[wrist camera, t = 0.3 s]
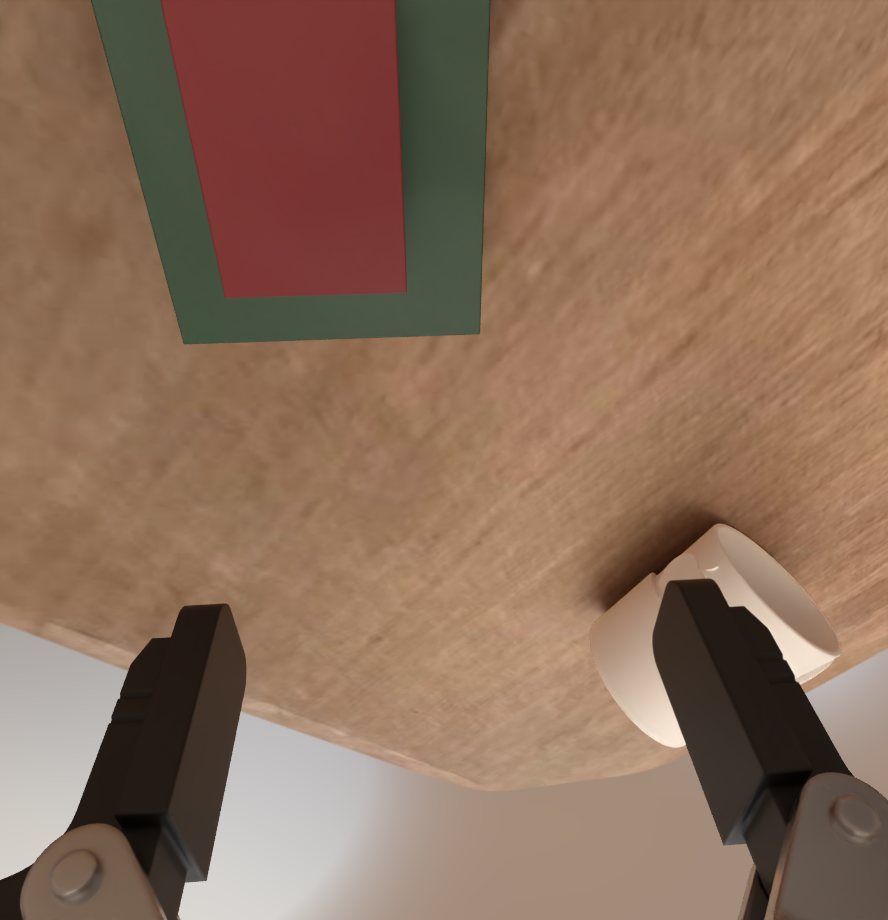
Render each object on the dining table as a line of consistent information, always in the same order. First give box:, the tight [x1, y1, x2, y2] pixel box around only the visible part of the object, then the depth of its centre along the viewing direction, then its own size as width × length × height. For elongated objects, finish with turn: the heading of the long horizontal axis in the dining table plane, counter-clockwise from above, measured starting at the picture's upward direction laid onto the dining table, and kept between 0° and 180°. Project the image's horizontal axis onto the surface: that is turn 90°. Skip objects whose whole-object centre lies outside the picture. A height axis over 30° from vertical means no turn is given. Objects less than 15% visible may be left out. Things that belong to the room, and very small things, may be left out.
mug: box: [589, 524, 841, 747], centre depth 36 cm, size 12×9×8 cm
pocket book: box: [160, 0, 407, 298], centre depth 19 cm, size 9×6×3 cm, turn 0°
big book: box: [91, 0, 490, 344], centre depth 21 cm, size 15×11×3 cm
